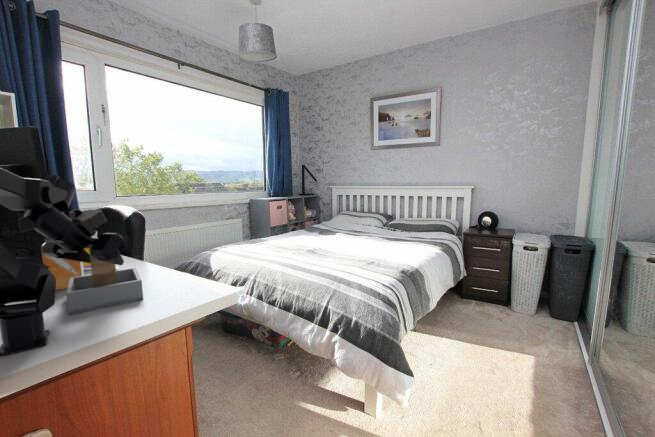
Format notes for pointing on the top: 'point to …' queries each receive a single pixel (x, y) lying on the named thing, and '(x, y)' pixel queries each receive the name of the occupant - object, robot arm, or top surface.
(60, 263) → the small box
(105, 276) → the brown cylinder
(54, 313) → the top surface
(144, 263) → the top surface
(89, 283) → the grey tote
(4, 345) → the robot arm
